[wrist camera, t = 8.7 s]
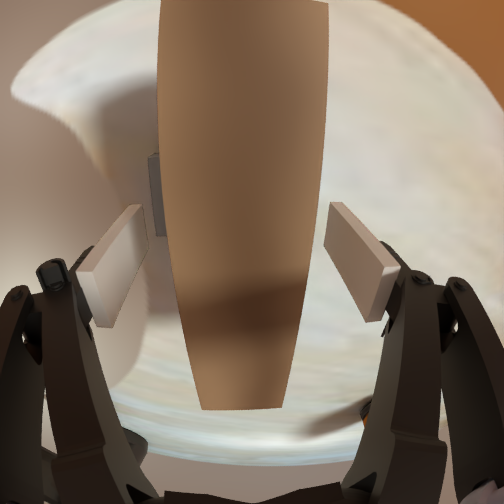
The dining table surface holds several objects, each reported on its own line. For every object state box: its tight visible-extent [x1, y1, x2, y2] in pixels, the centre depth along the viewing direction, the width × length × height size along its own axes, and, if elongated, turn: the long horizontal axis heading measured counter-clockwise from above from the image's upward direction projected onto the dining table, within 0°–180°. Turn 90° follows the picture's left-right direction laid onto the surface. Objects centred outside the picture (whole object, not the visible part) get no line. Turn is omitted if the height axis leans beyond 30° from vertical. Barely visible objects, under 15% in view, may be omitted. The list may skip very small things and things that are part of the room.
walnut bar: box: [157, 0, 329, 410], centre depth 12 cm, size 5×20×5 cm, turn 179°
